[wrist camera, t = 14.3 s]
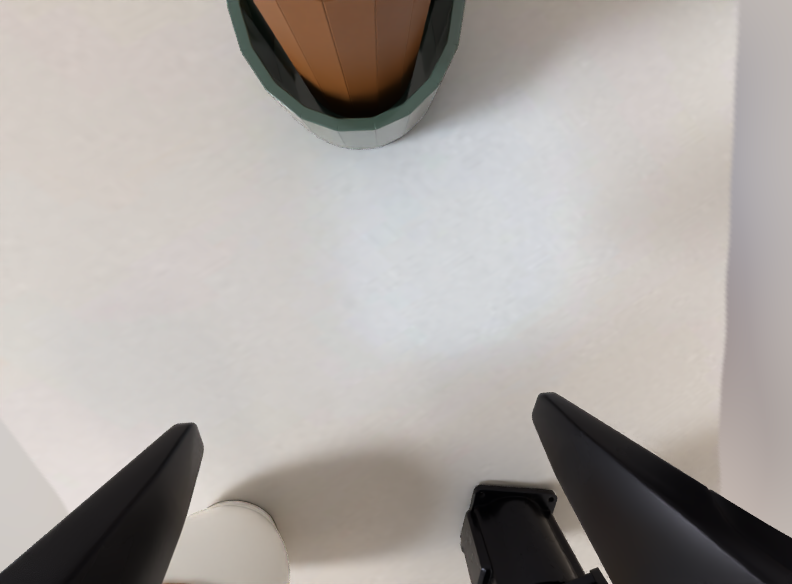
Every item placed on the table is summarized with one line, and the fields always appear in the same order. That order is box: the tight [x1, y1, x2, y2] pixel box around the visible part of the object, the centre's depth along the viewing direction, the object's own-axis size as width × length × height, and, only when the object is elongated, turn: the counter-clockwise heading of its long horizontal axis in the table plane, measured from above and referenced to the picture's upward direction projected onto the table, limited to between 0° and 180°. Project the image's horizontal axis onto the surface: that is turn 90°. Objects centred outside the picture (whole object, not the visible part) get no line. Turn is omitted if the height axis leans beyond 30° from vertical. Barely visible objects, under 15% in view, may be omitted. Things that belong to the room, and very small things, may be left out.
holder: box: [227, 0, 466, 150], centre depth 14 cm, size 9×9×5 cm
